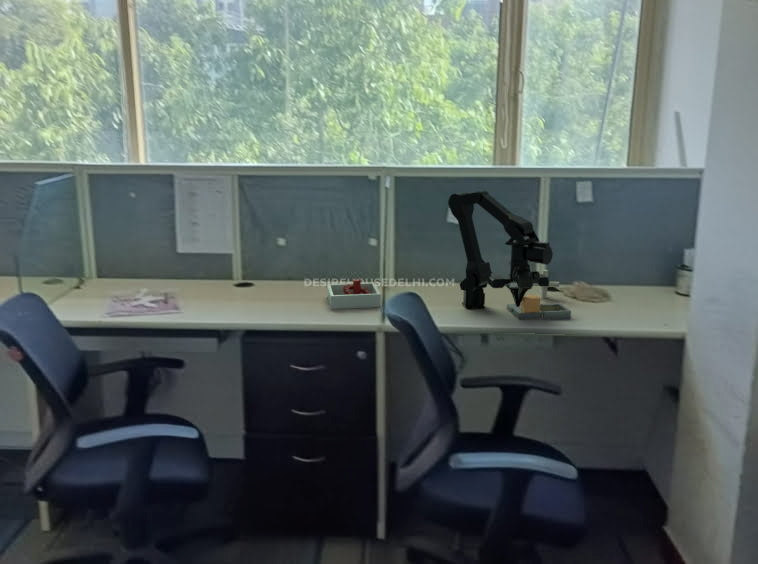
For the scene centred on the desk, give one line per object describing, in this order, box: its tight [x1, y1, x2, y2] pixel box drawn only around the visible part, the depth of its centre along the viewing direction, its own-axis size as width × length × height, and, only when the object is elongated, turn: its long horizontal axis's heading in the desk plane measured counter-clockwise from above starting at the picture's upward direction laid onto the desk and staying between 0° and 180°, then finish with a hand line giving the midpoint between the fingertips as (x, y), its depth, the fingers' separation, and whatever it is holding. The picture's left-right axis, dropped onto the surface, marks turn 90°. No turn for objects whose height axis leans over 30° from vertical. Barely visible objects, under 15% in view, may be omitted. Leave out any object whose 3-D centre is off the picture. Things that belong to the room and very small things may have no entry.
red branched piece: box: [343, 278, 371, 295], centre depth 257 cm, size 11×12×8 cm
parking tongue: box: [506, 303, 521, 314], centre depth 247 cm, size 7×5×2 cm
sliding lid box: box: [512, 302, 572, 321], centre depth 241 cm, size 17×9×2 cm, turn 98°
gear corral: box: [326, 282, 382, 310], centre depth 258 cm, size 17×16×4 cm
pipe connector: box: [533, 269, 560, 299], centre depth 261 cm, size 10×10×10 cm
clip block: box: [521, 294, 541, 312], centre depth 240 cm, size 5×4×4 cm
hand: (517, 306), depth 239 cm, fingers closed
